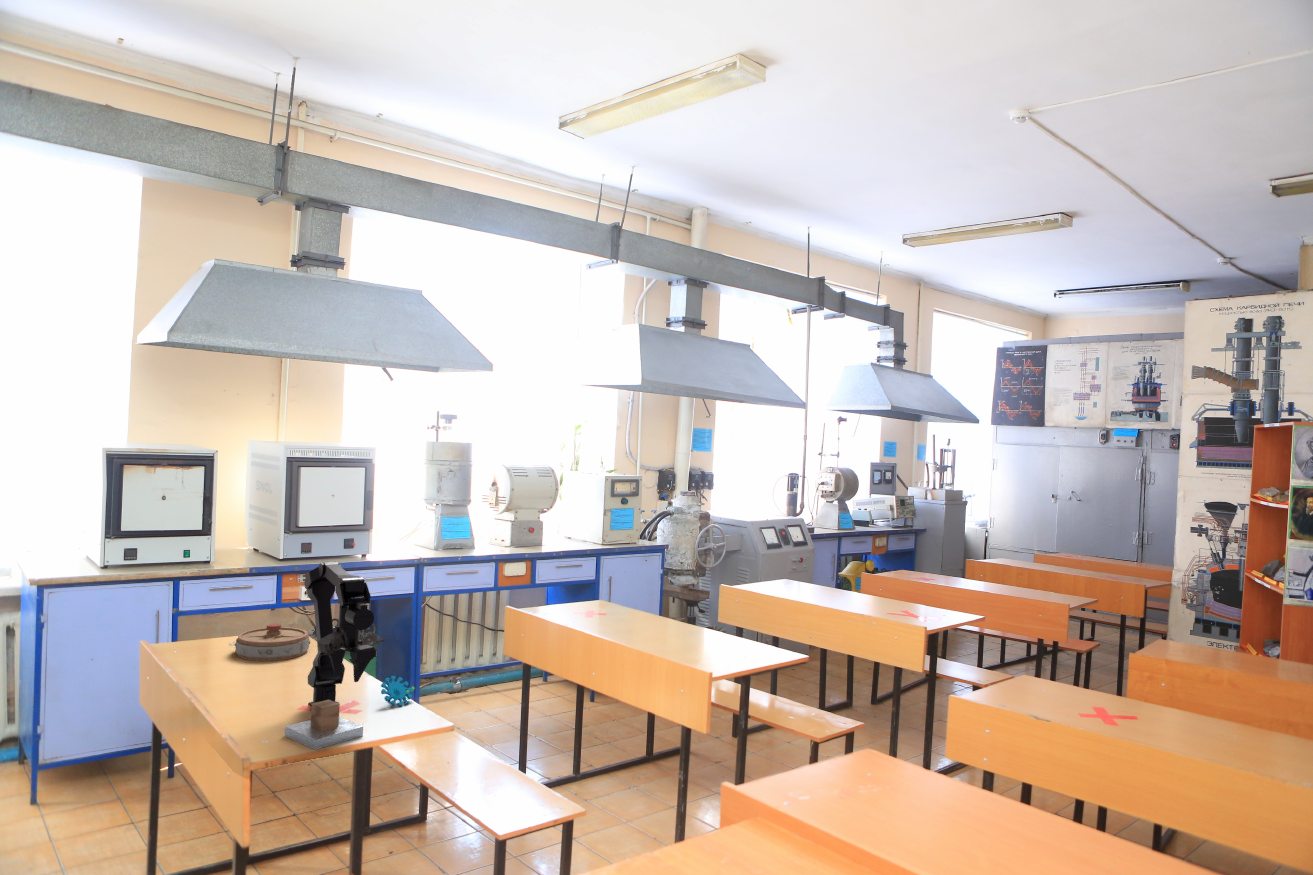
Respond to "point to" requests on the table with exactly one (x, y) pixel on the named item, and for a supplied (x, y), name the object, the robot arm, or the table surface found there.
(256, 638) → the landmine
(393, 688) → the blue spiky blob
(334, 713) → the walnut block
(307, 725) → the base plate
